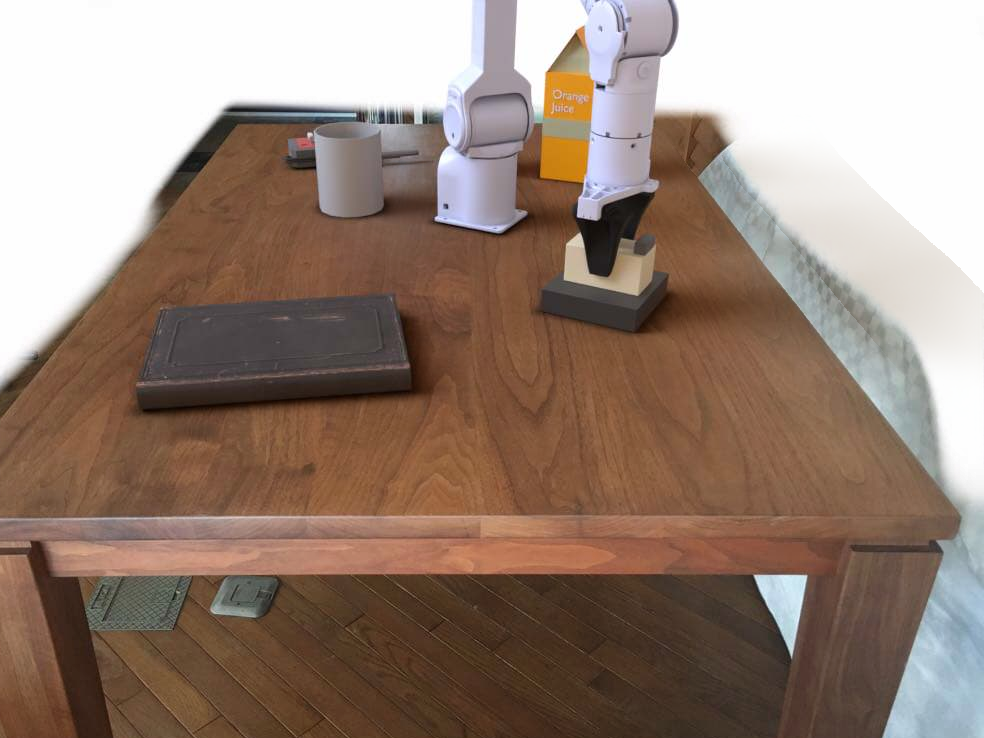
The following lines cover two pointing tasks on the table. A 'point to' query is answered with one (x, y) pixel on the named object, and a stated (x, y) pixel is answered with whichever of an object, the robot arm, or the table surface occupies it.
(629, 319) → the black box
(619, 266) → the tape dispenser
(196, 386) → the hardcover book
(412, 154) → the walkie-talkie
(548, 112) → the orange juice
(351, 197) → the cup
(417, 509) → the table surface
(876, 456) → the table surface
